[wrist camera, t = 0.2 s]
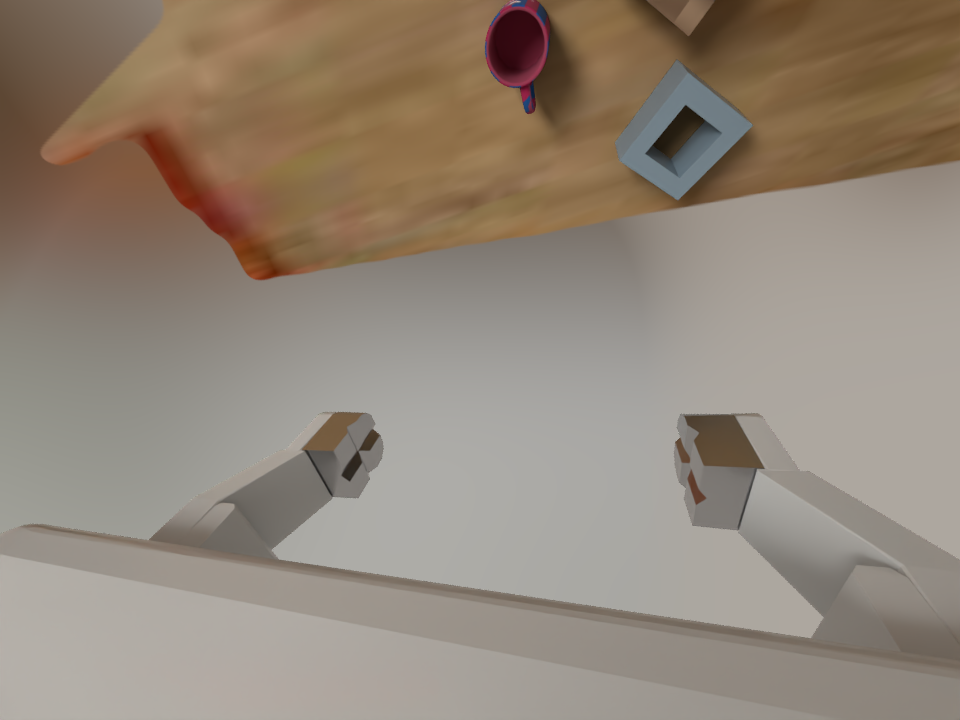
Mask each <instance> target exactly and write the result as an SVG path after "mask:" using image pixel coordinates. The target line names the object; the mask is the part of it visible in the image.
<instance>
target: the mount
mask: <svg viewBox="0 0 960 720" xmlns="http://www.w3.org/2000/svg"><path fill="white" fill-rule="evenodd" d="M646 1H648V2H649V3H650V4H651V5H652V6H653V7H655V8H656V9H657V10H658V11H659V12H660V13H662V14H663V15H664V16H665V17H666V18H668V19H669V20H670V21H671V22H672V23H673V24H675V25H676V26H677V27H678V28H679V29H681V30H682V31H683V32H684V33H685V34H686V35H688V36H690V34H691V33H692V31H693V30H694V29H695V27H696V26H697V25H698V23H699V22H700V21H701V19H702V18H703V16H704V15H705V14H706V12H707V11H708V10H709V8H710V7H711V6H712V4H713V3H714V2H715V0H646Z"/></svg>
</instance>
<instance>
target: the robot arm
mask: <svg viewBox="0 0 960 720" xmlns="http://www.w3.org/2000/svg"><path fill="white" fill-rule="evenodd" d="M374 425H375V422H374V420H373V418H372V416H371V415H370V414H367V413H351V412H337V413H336V412H323V413H320V414H318V415H317V416H316V417H315V419H314V420H313V421H312V422H311V423H310V424H309V425H308V426H307V427H306V428H305V429H304V430H303V431H302V433H301V434H300V435H299V436H298V437H297V438H296V439H295V440H294V441H293V442H292V443H291V444H290V445H289V446H288V448H287V449H286V450H280V451H278V452H276V453H274V454H272V455H271V456H269V457H267V458H265V459H263V460H261V461H260V462H258V463H256V464H254V465H252V466H251V467H249V468H247V469H245V470H243V471H242V472H240V473H238V474H236V475H234V476H232V477H231V478H229V479H227V480H225V481H223V482H221V483H220V484H218V485H216V486H214V487H212V488H210V489H209V490H207V491H205V492H203V493H201V494H199V495H198V496H196V497H194V498H192V500H190V501H189V502H188V503H187V504H186V505H185V506H184V507H183V508H182V509H181V510H180V511H179V512H178V513H177V514H175V515H174V516H173V517H172V518H171V519H170V520H169V521H168V522H167V523H166V524H165V525H164V526H163V527H162V528H161V529H160V530H159V531H158V532H157V533H155V534H154V535H153V536H152V537H151V538H150V539H149V540H143V539H137V538H131V537H124V536H117V535H110V534H104V533H97V532H90V531H83V530H76V529H70V528H63V527H57V526H51V525H45V524H28V525H23V526H20V527H17V528H14V529H11V530H8V531H6V532H3V533H1V534H0V720H960V560H959V559H958V558H956V557H954V556H953V555H951V554H949V553H948V552H946V551H944V550H942V549H941V548H939V547H937V546H936V545H934V544H932V543H931V542H929V541H927V540H925V539H923V538H922V537H920V536H919V535H916V534H915V533H913V532H912V531H910V530H908V529H906V528H905V527H903V526H902V525H899V524H898V523H896V522H895V521H893V520H891V519H890V518H888V517H886V516H885V515H883V514H881V513H879V512H878V511H876V510H874V509H872V508H871V507H869V506H868V505H866V504H864V503H862V502H861V501H859V500H857V499H856V498H854V497H852V496H850V495H849V494H847V493H845V492H844V491H842V490H840V489H838V488H837V487H835V486H833V485H832V484H830V483H828V482H827V481H825V480H823V479H822V478H820V477H818V476H816V475H815V474H813V473H811V472H809V471H800V470H799V469H798V467H797V466H796V464H795V463H794V461H793V460H792V459H791V457H790V456H789V454H788V453H787V451H786V450H785V448H784V447H783V445H782V444H781V442H780V441H779V439H778V438H777V437H776V435H775V434H774V432H773V431H772V429H771V428H770V426H769V425H768V424H767V422H766V421H765V419H764V418H763V416H761V415H760V414H758V413H748V414H747V413H745V414H680V416H679V419H678V425H677V429H678V432H679V435H680V438H679V439H678V440H677V441H676V442H675V450H674V458H675V468H676V473H677V477H678V480H679V483H681V485H683V486H684V487H685V488H686V490H685V497H684V500H685V503H686V506H687V510H688V513H689V516H690V519H691V522H692V525H693V526H701V527H712V528H720V529H721V528H722V529H730V530H739V532H738V533H739V534H740V535H741V536H743V537H744V539H746V541H748V542H749V544H751V545H752V546H753V547H754V548H755V549H756V550H757V551H758V552H759V553H760V554H761V555H762V556H763V557H764V558H765V559H766V560H767V561H768V562H769V563H770V564H771V565H772V566H773V567H774V568H775V569H776V570H777V571H778V572H779V573H780V574H781V575H782V576H783V577H784V578H785V579H786V580H787V581H788V582H789V583H790V584H791V585H792V586H793V587H794V588H795V589H796V590H797V591H798V592H799V593H800V594H801V595H802V596H803V597H804V598H805V599H806V600H807V601H808V602H809V603H810V604H811V605H812V606H813V607H814V608H815V609H816V610H817V611H818V612H819V613H820V614H821V615H822V616H823V617H824V618H823V620H822V621H821V623H820V625H819V627H818V628H817V629H816V631H815V633H814V634H813V636H812V638H805V637H798V636H791V635H785V634H778V633H771V632H764V631H758V630H751V629H744V628H737V627H731V626H724V625H717V624H710V623H704V622H696V621H690V620H683V619H677V618H670V617H663V616H656V615H650V614H643V613H636V612H629V611H623V610H616V609H609V608H602V607H596V606H589V605H582V604H575V603H569V602H562V601H555V600H548V599H542V598H535V597H527V596H521V595H515V594H508V593H501V592H494V591H487V590H481V589H474V588H467V587H460V586H454V585H447V584H440V583H433V582H427V581H419V580H413V579H406V578H399V577H393V576H386V575H379V574H372V573H365V572H359V571H352V570H345V569H338V568H331V567H325V566H318V565H311V564H304V563H298V562H291V561H284V560H279V559H278V558H277V557H276V555H275V554H274V553H273V552H272V551H271V550H272V549H273V548H274V547H275V546H276V545H278V544H279V543H280V542H281V541H282V540H283V539H285V538H286V537H287V536H288V535H290V534H291V533H292V532H293V531H294V530H295V529H297V528H298V527H299V526H300V525H301V524H303V523H304V522H305V521H306V520H307V519H309V518H310V517H311V516H312V515H313V514H315V513H316V512H317V511H318V510H319V509H320V508H321V507H323V506H324V505H325V504H326V503H328V502H329V501H330V500H331V499H332V497H345V498H359V496H360V494H361V493H362V491H363V489H364V488H365V486H366V484H367V483H368V481H369V480H370V477H369V472H370V471H372V470H373V469H375V468H376V467H377V466H378V464H379V462H380V461H381V459H382V454H383V441H382V439H381V436H380V435H379V434H378V433H377V432H376V431H374V430H373V428H374Z"/></svg>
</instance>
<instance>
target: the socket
mask: <svg viewBox="0 0 960 720" xmlns="http://www.w3.org/2000/svg"><path fill="white" fill-rule="evenodd" d="M685 105H687V106H688V107H689V108H690V109H692V110H693V111H694V112H696V113H697V114H698V115H699V116H701V117H702V118H703V119H705V121H704V123H703V124H702V125H701V126H700V127H699V128H698V129H697V130H696V132H695V133H694V134H693V135H692V136H691V137H690V138H689V139H688V140H687V142H686V143H685V144H684V145H683V146H682V147H681V148H680V149H679V150H678V152H677V153H676V154H675V155H674V156H673V157H672V158H671V159H670V158H669V157H668V156H666V155H665V154H663V153H662V152H661V151H659V150H658V149H656V148H655V147H653V146H652V145H653V144H654V142H655V141H656V140H657V139H658V137H659V136H660V135H661V134H662V133H663V131H664V130H665V129H666V128H667V127H668V125H669V124H670V123H671V122H672V121H673V119H674V118H675V117H676V116H677V115H678V113H679V112H680V111H681V110H682V109H683V107H684V106H685ZM752 126H753V125H752V124H751V122H750V121H749V120H748V119H747V118H746V117H745V116H744V115H743V114H742V113H741V112H740V111H739V110H738V109H737V108H736V107H735V106H734V105H732V104H731V103H730V102H729V101H728V100H726V99H725V98H724V97H723V96H721V95H720V94H719V93H718V92H717V91H715V90H714V89H713V88H712V87H710V86H709V85H708V84H707V83H705V82H704V81H703V80H702V79H701V78H699V77H698V76H697V75H696V74H694V73H693V72H692V71H691V70H690V69H688V68H687V67H686V66H685V65H683V64H682V63H681V62H680V61H678V60H676V61H675V63H674V64H673V65H672V67H671V68H670V69H669V71H668V72H667V73H666V75H665V76H664V77H663V79H662V80H661V81H660V83H659V84H658V85H657V87H656V88H655V90H654V91H653V92H652V94H651V95H650V96H649V98H648V99H647V100H646V102H645V103H644V104H643V106H642V107H641V108H640V110H639V111H638V112H637V114H636V115H635V116H634V118H633V119H632V120H631V122H630V123H629V124H628V126H627V127H626V128H625V130H624V131H623V133H622V134H621V135H620V137H619V138H618V139H617V141H616V142H615V144H616V149H617V153H618V158H619V161H621V162H622V163H623V164H625V165H626V166H628V167H629V168H631V169H632V170H634V171H635V172H637V173H638V174H640V175H641V176H643V177H644V178H646V179H647V180H649V181H650V182H652V183H653V184H654V185H656V186H657V187H659V188H660V189H662V190H663V191H665V192H666V193H668V194H669V195H671V196H672V197H674V198H675V199H677V200H679V199H680V198H681V197H682V196H683V195H684V194H685V193H686V192H687V191H688V190H689V189H690V188H691V187H692V186H693V185H694V184H695V183H696V182H697V181H698V180H699V179H700V178H701V177H702V176H703V175H704V174H705V173H706V172H707V171H708V170H709V169H710V168H711V167H712V166H713V165H714V164H715V163H716V162H717V161H718V160H719V159H720V158H721V157H722V156H723V155H724V154H725V153H726V152H727V151H728V150H729V149H730V148H731V147H732V146H733V145H734V144H735V143H736V142H737V141H738V140H739V139H740V138H741V137H742V136H743V135H744V134H745V133H746V132H747V131H748V130H749V129H750V128H751V127H752Z"/></svg>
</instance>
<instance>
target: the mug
mask: <svg viewBox="0 0 960 720" xmlns="http://www.w3.org/2000/svg"><path fill="white" fill-rule="evenodd" d="M549 41H550V23H549V19H548V16H547V13H546V11H545V10H544V8H543V6H542V5H541V4H540V3H539V2H538V1H536V0H510V1H509V2H508V3H507V4H505V5H504V7H503V8H502V9H501V11H500V12H499V13H498V14H497V16H496V17H495V18H494V20H493V21H492V23H491V25H490V27H489V30H488V32H487V37H486V43H485V55H486V60H487V64H488V67H489V69H490V71H491V73H492V74H493V76H494V77H495V78H496V79H497V80H498V81H499V82H500V83H501V84H503V85H505V86H507V87H512V88H519V87H520V90H521V96H522V101H523V105H524V109H525V112H526V113H527V114H531V113H533V112H534V111H535V107H536V102H535V94H534V86H533V80H534V79H535V78H536V77H537V76H538V75H539V74H540V72H541V71H542V69H543V67H544V65H545V62H546V59H547V55H548V49H549Z"/></svg>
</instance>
